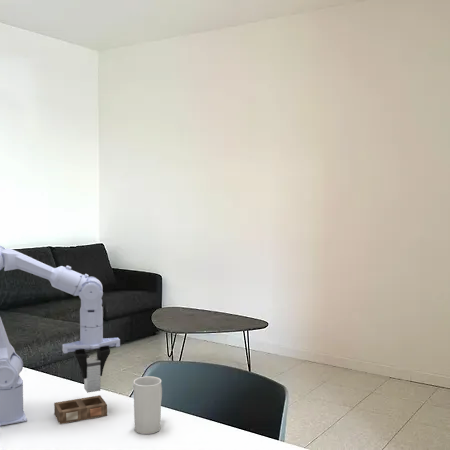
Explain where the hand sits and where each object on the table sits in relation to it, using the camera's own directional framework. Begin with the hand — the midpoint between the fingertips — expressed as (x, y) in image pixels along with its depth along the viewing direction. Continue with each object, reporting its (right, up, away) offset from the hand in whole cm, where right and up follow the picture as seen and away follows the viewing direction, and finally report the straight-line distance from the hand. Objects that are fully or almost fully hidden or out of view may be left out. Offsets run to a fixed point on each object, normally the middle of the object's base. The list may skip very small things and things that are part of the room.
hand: (91, 376), depth 147 cm
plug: (0, -3, 0) cm, 3 cm away
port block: (-3, -10, -1) cm, 10 cm away
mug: (+16, -11, -7) cm, 21 cm away
